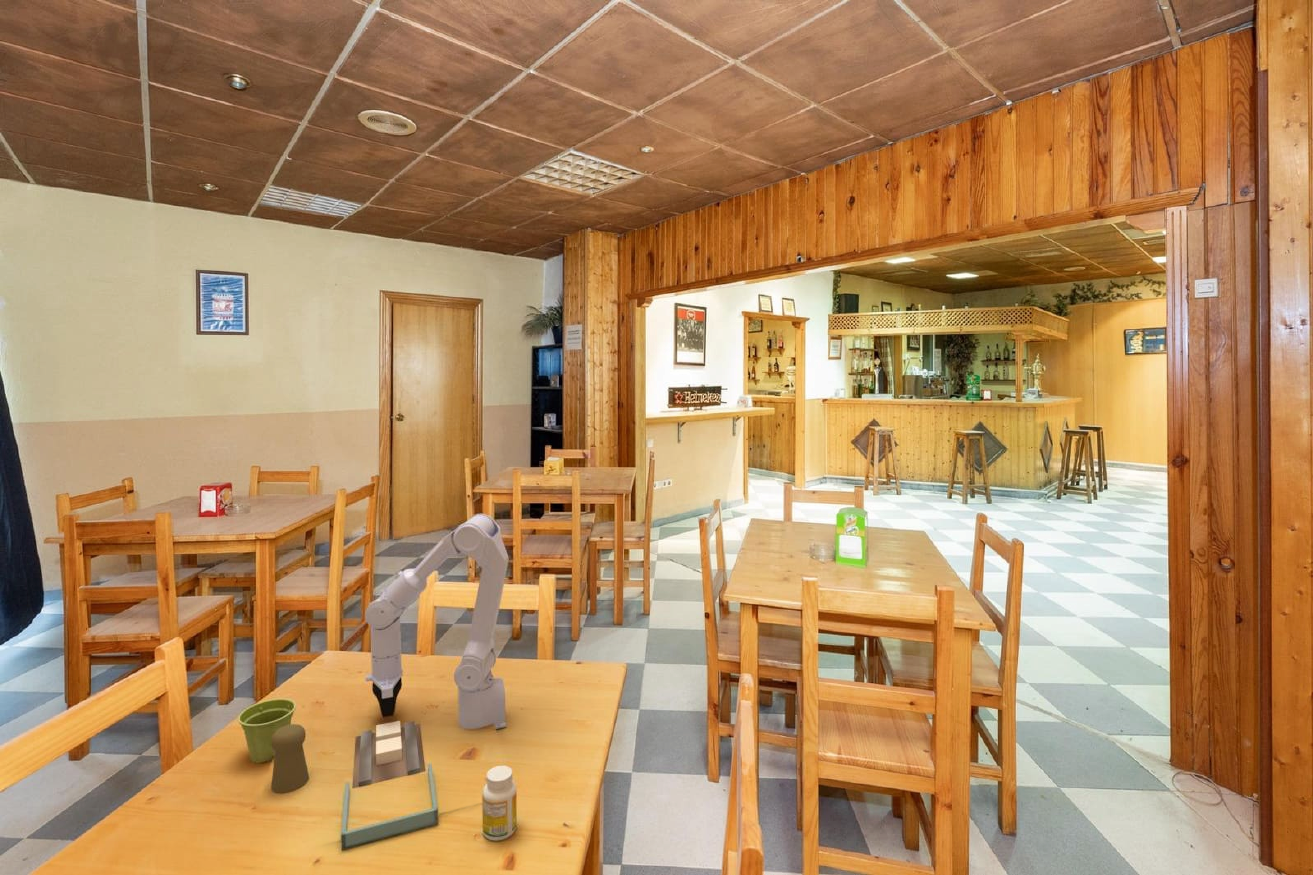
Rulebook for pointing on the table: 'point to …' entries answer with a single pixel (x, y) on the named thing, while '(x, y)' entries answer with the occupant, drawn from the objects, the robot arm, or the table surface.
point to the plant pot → (265, 726)
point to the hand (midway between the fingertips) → (388, 714)
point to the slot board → (373, 773)
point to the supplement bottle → (499, 804)
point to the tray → (388, 822)
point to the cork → (289, 759)
